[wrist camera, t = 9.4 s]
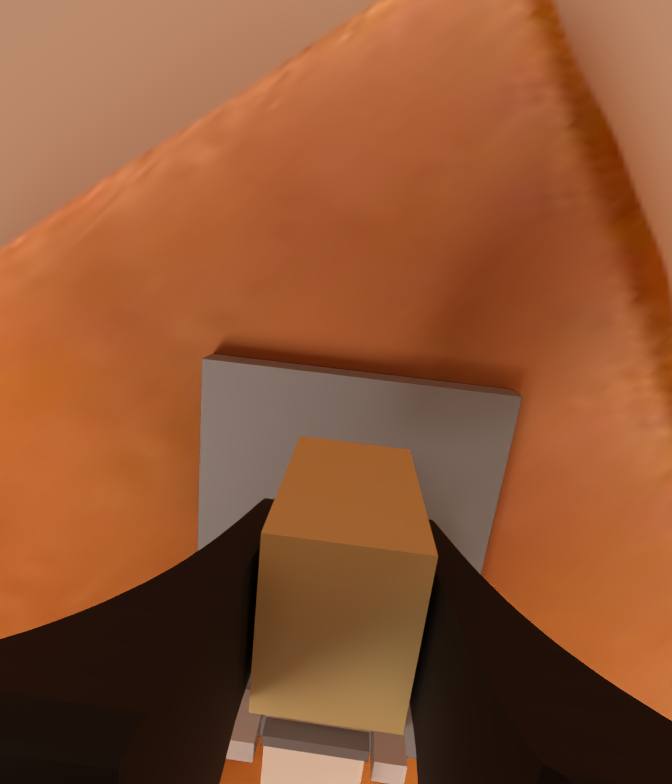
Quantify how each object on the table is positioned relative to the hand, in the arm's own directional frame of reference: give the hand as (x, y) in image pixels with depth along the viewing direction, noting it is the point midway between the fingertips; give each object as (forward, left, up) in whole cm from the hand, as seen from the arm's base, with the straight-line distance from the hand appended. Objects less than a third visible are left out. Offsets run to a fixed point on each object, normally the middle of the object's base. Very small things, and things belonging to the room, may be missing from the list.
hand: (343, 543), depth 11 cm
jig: (-7, 0, -9) cm, 11 cm away
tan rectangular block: (0, 0, -2) cm, 2 cm away
